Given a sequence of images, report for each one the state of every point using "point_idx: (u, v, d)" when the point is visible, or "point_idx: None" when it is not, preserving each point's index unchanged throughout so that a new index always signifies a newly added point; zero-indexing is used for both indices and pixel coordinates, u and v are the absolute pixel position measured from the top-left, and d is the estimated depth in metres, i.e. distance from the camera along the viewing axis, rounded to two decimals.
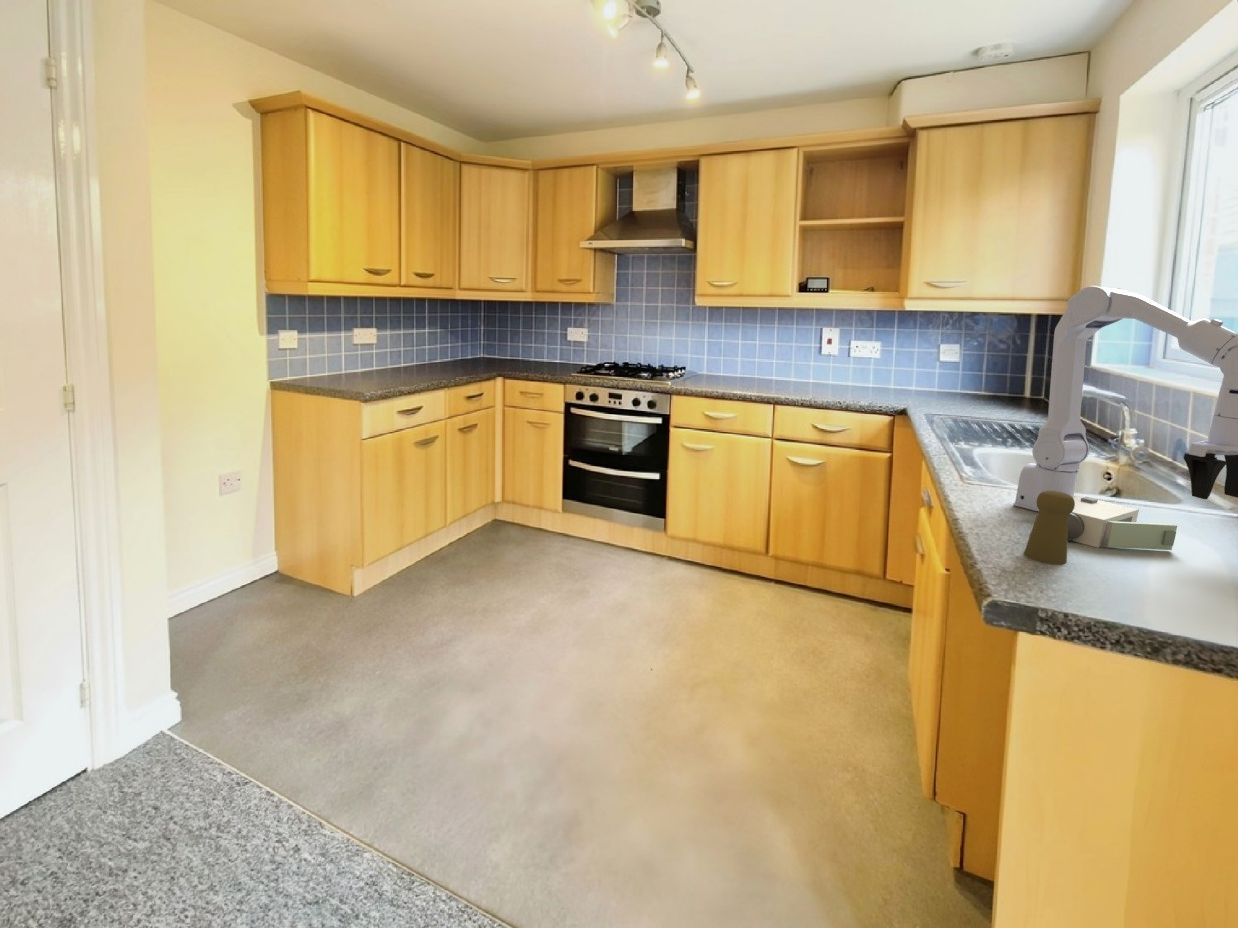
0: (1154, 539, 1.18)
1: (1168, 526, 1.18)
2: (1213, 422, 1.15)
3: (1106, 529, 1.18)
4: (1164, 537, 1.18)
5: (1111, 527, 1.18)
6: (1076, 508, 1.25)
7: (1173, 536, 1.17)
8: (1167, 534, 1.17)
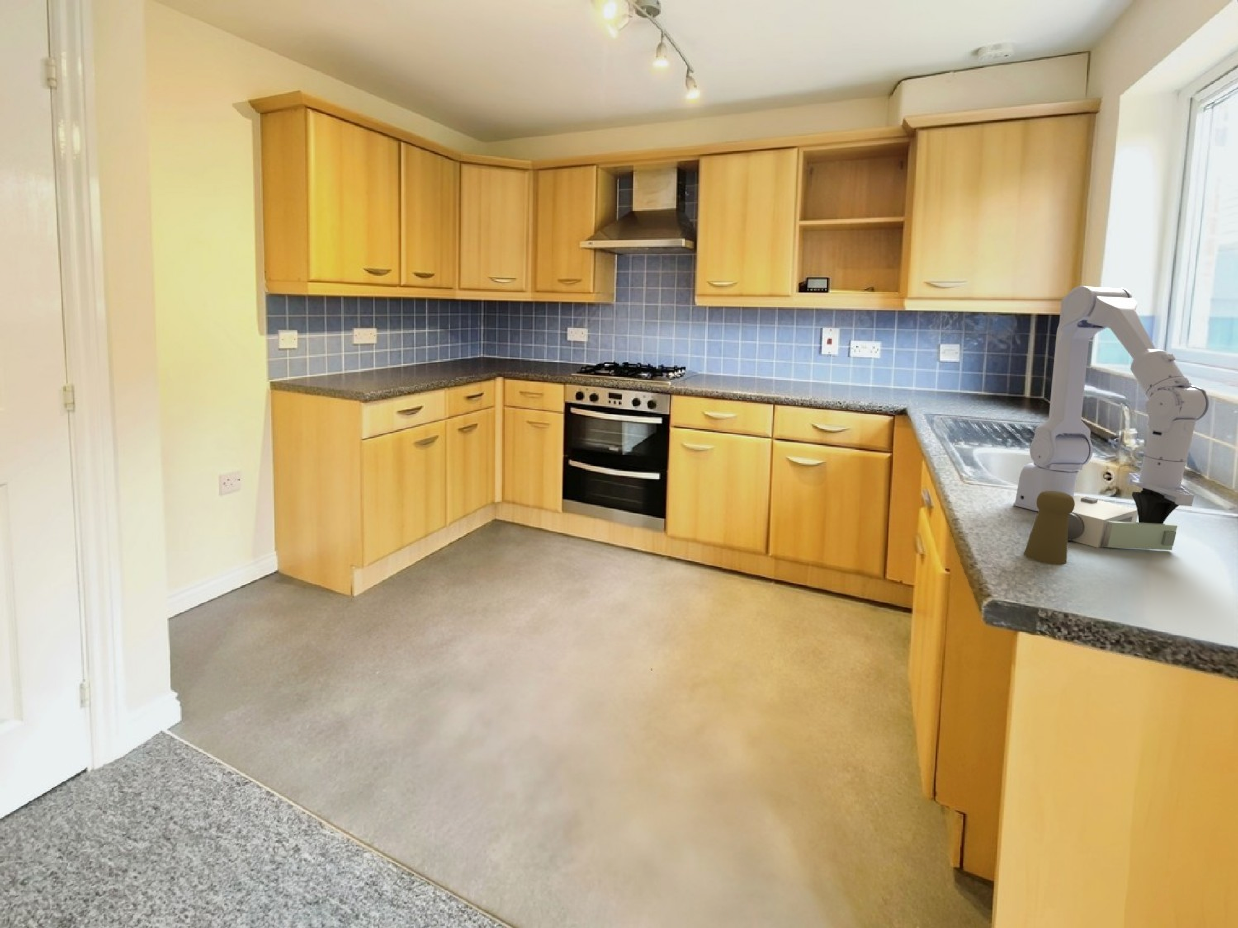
0: (1154, 539, 1.18)
1: (1168, 526, 1.18)
2: None
3: (1106, 529, 1.18)
4: (1164, 537, 1.18)
5: (1111, 527, 1.18)
6: (1076, 508, 1.25)
7: (1173, 536, 1.17)
8: (1167, 534, 1.17)
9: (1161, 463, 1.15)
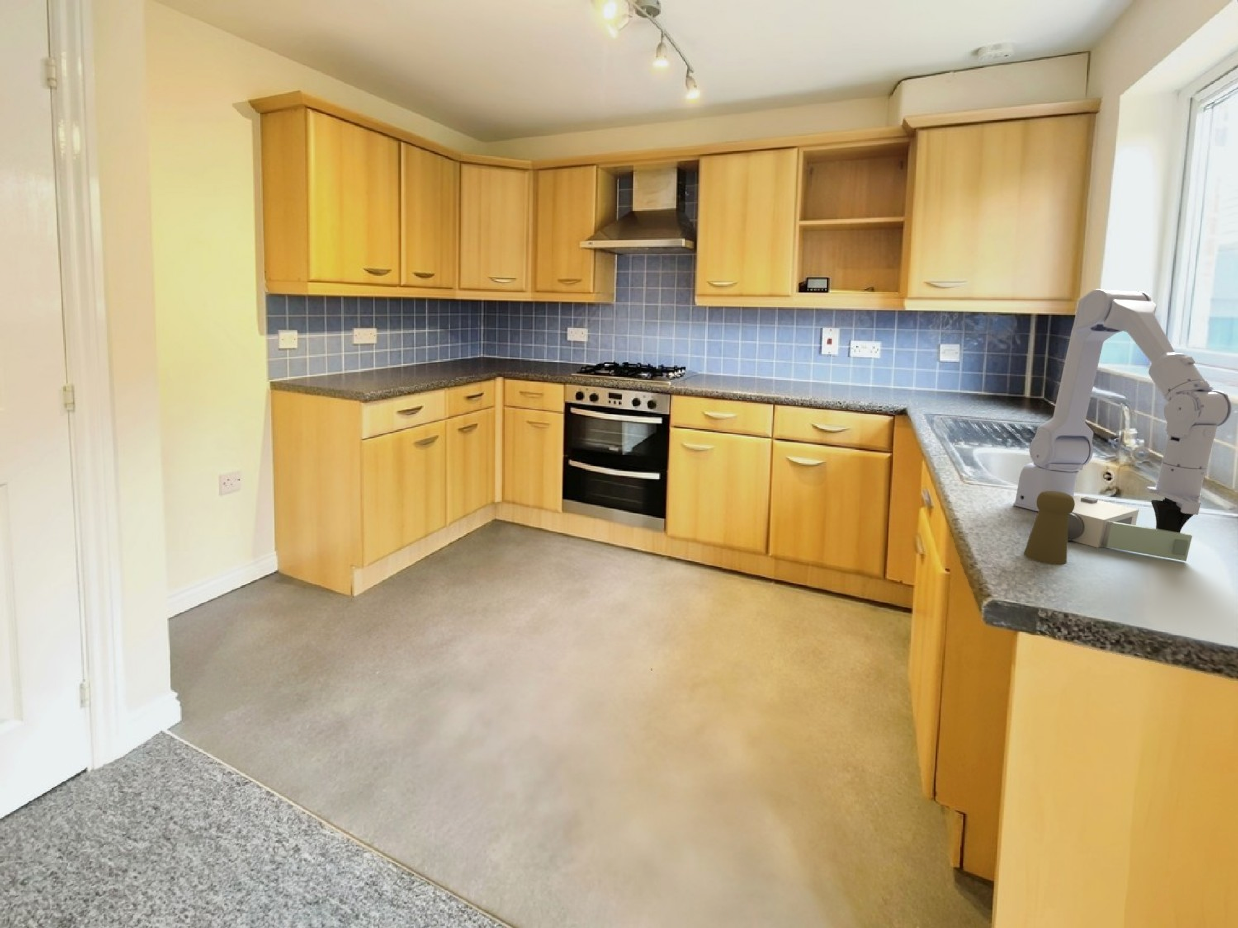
0: (1163, 546, 1.15)
1: (1180, 535, 1.13)
2: None
3: (1105, 529, 1.19)
4: (1174, 545, 1.13)
5: (1110, 527, 1.18)
6: (1076, 508, 1.25)
7: (1184, 546, 1.13)
8: (1177, 542, 1.13)
9: (1174, 469, 1.11)
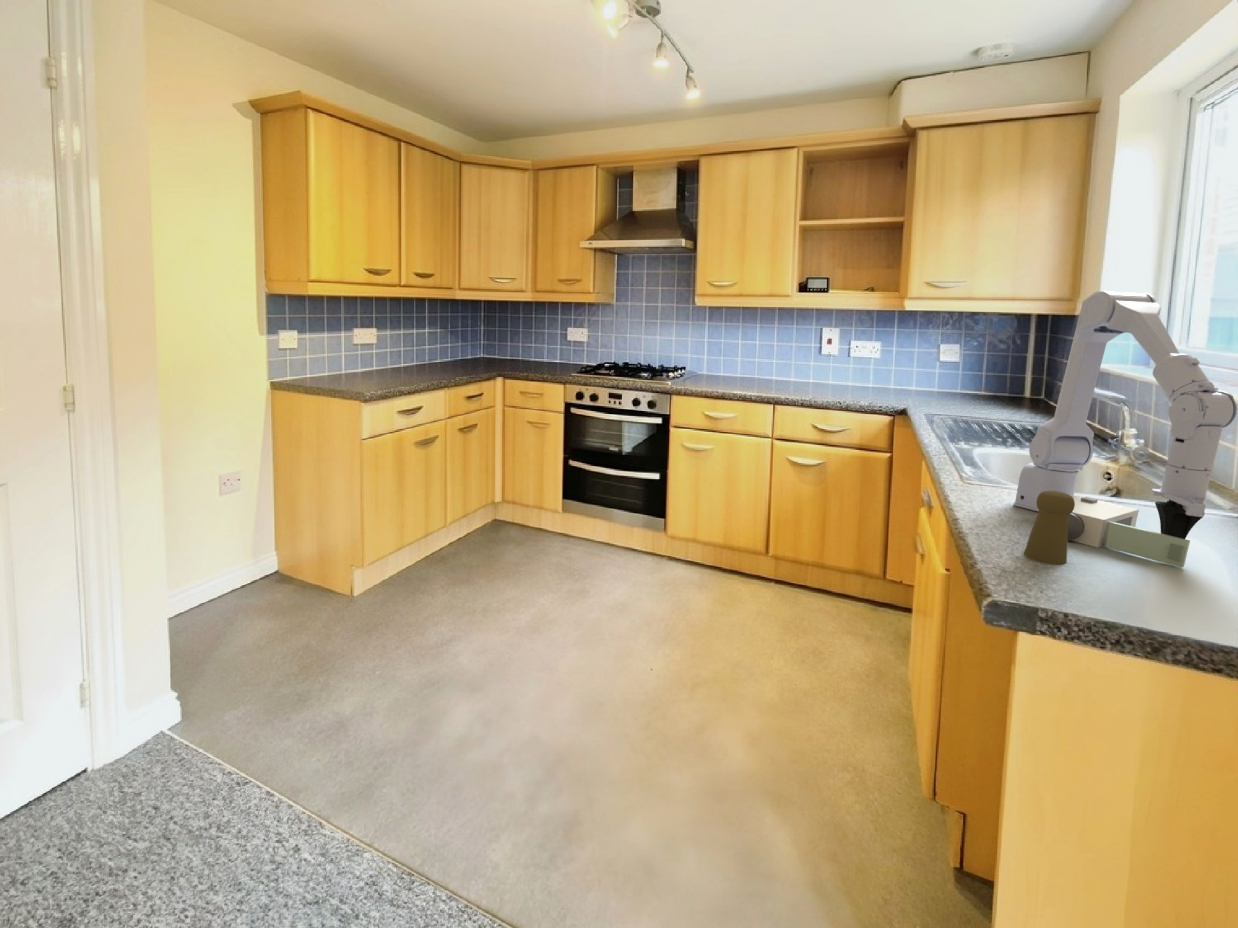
0: (1159, 550, 1.12)
1: (1176, 539, 1.10)
2: None
3: (1105, 528, 1.19)
4: (1169, 550, 1.11)
5: (1109, 527, 1.18)
6: (1076, 508, 1.25)
7: (1179, 551, 1.10)
8: (1171, 547, 1.11)
9: (1179, 471, 1.10)
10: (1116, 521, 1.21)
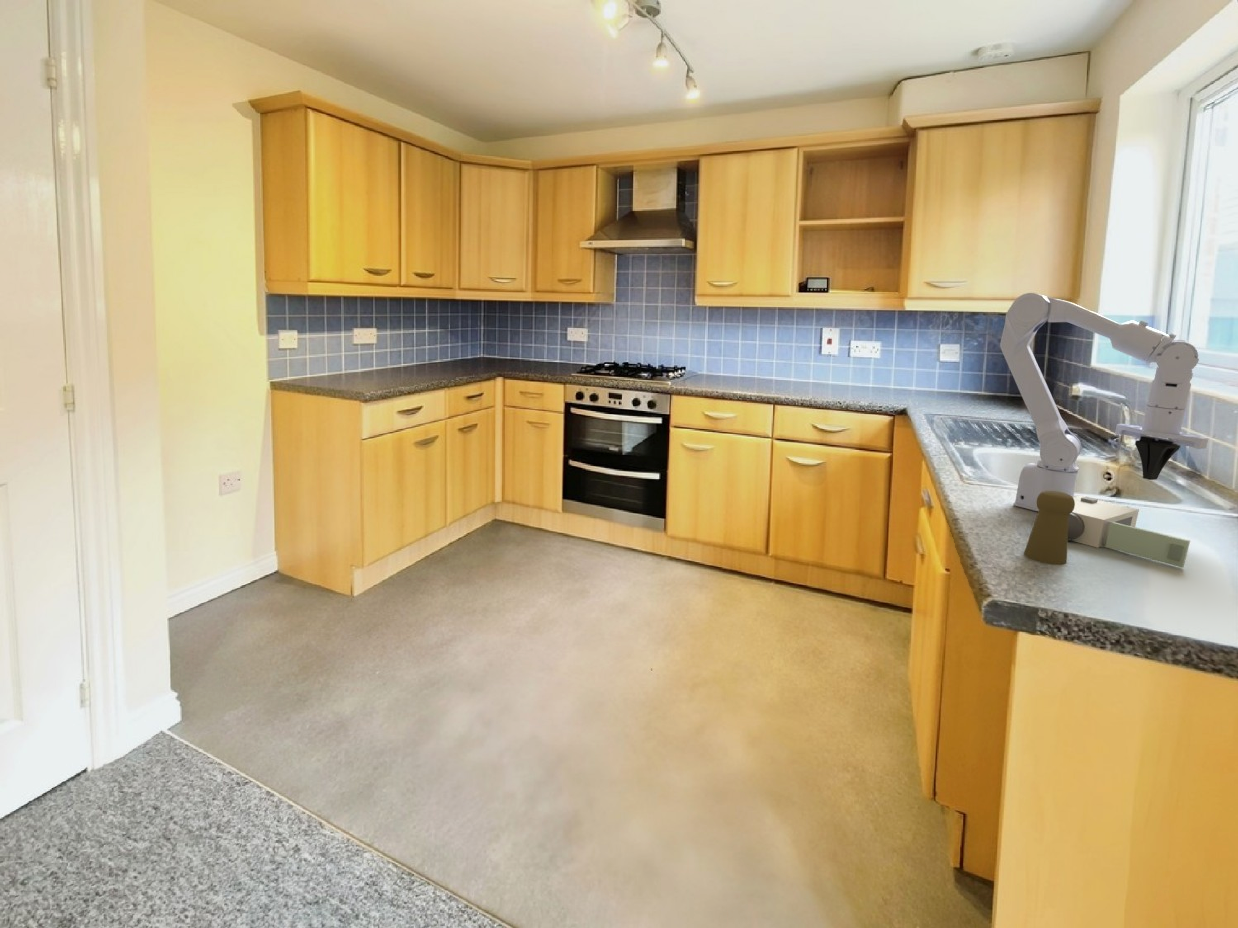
0: (1159, 550, 1.12)
1: (1176, 539, 1.10)
2: None
3: (1105, 528, 1.19)
4: (1169, 550, 1.11)
5: (1109, 527, 1.18)
6: (1076, 508, 1.25)
7: (1178, 551, 1.10)
8: (1171, 547, 1.11)
9: (1172, 412, 1.25)
10: (1116, 521, 1.21)
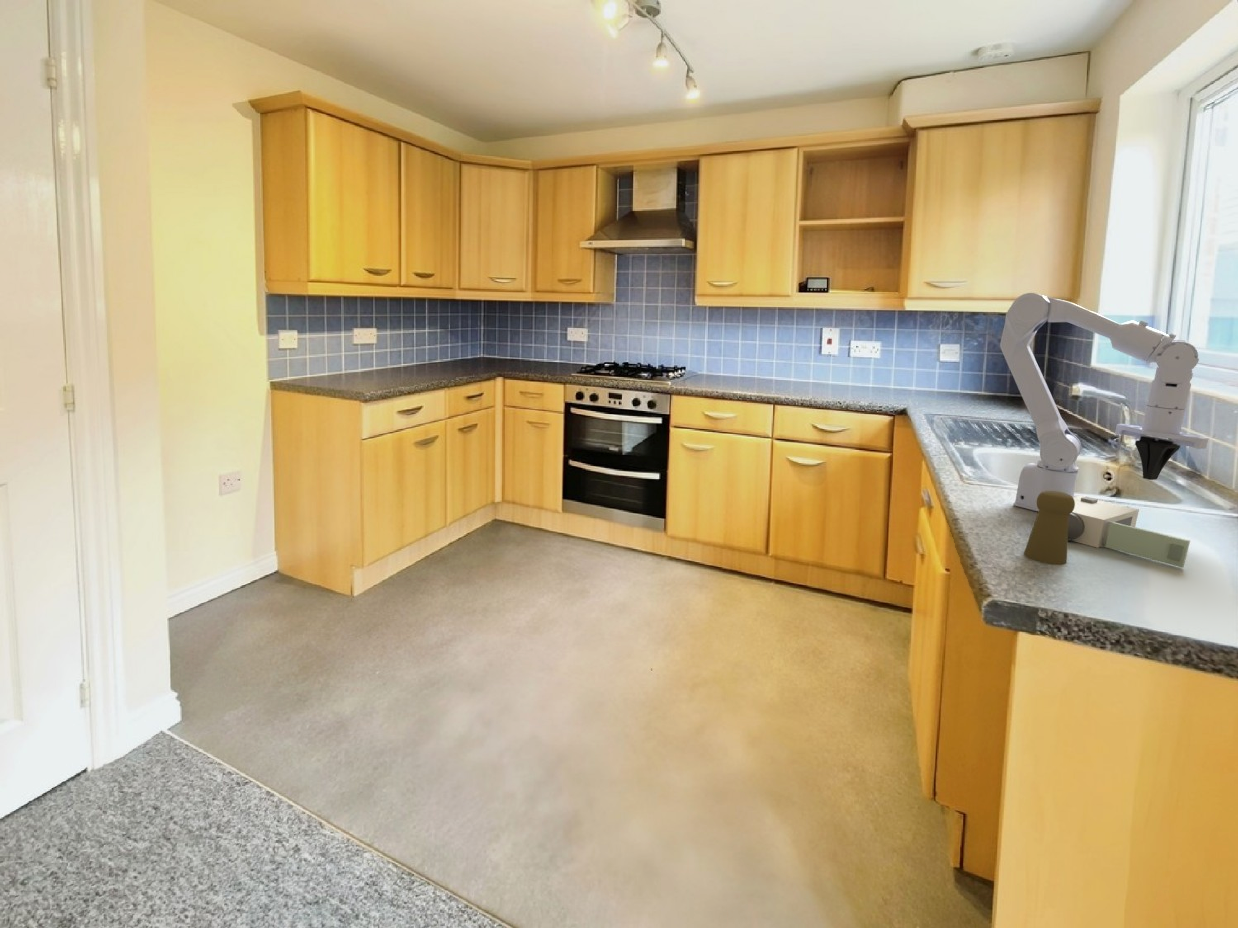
0: (1159, 550, 1.12)
1: (1176, 539, 1.10)
2: None
3: (1105, 528, 1.19)
4: (1169, 550, 1.11)
5: (1109, 527, 1.18)
6: (1076, 508, 1.25)
7: (1178, 551, 1.10)
8: (1171, 547, 1.11)
9: (1172, 412, 1.25)
10: (1116, 521, 1.21)
